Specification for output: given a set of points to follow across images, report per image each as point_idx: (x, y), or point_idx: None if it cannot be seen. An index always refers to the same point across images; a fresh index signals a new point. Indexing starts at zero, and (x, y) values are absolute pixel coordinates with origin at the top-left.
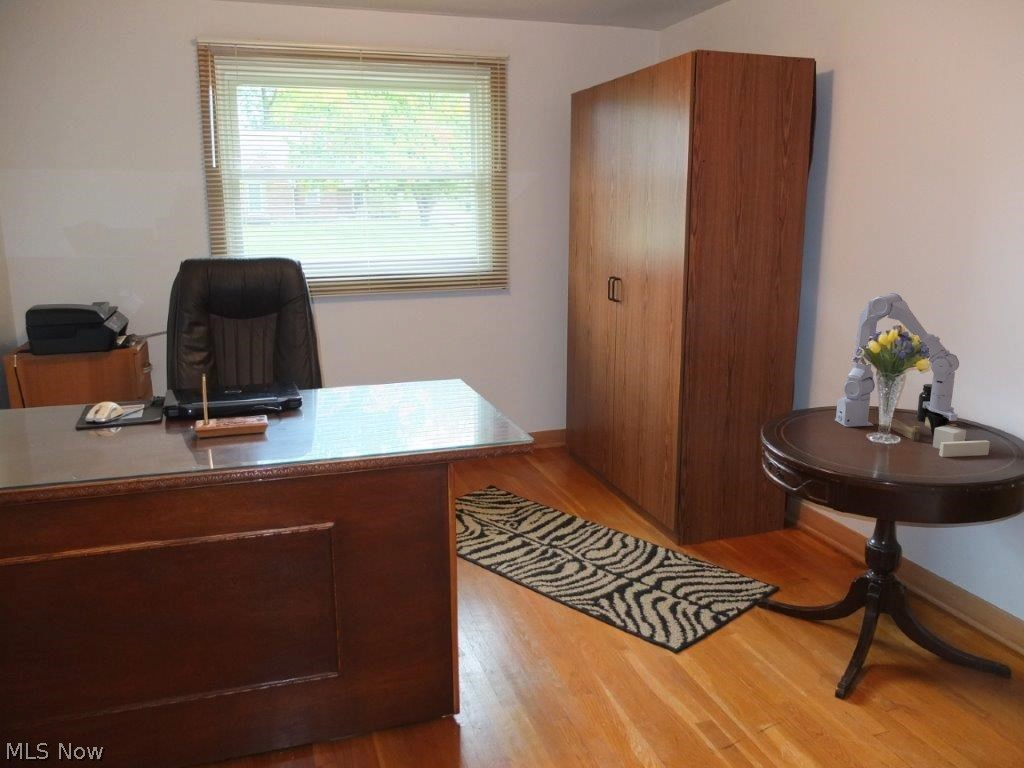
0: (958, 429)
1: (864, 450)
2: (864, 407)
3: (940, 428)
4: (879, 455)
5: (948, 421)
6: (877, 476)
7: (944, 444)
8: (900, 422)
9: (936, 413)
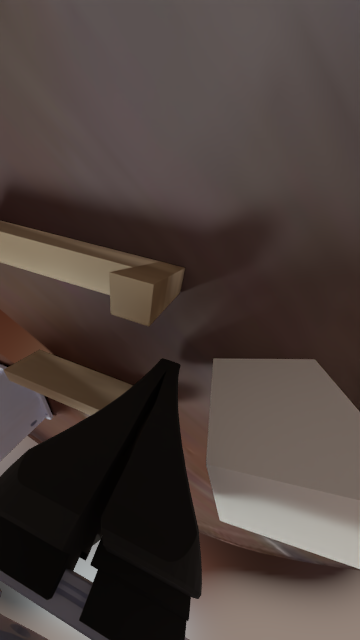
0: (352, 518)
1: None
2: None
3: (240, 519)
4: (212, 496)
5: (186, 484)
6: (288, 553)
7: None
8: (44, 391)
9: (72, 569)
